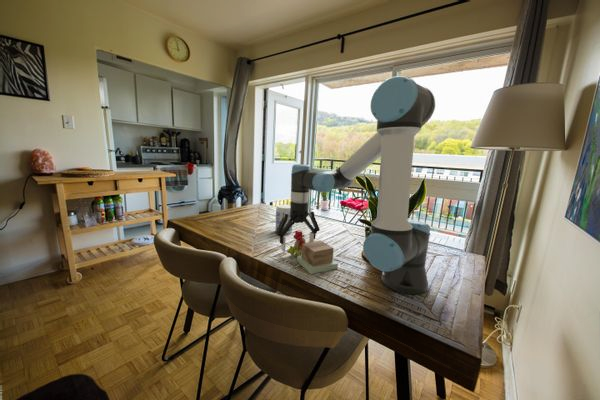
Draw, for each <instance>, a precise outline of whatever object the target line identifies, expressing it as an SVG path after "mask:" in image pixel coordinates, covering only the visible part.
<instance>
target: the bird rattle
mask: <svg viewBox="0 0 600 400" xmlns="http://www.w3.org/2000/svg"><path fill="white" fill-rule="evenodd" d="M294 233H295V234H293V239H295V242H294V245H290V246H289V248H288V249H287V253H288V254H290V255H291V256H294V255H297V256H302V244H303V243H306V238H305V236H306V235H305V234H303V231H299V230H295V231H294Z"/></svg>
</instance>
